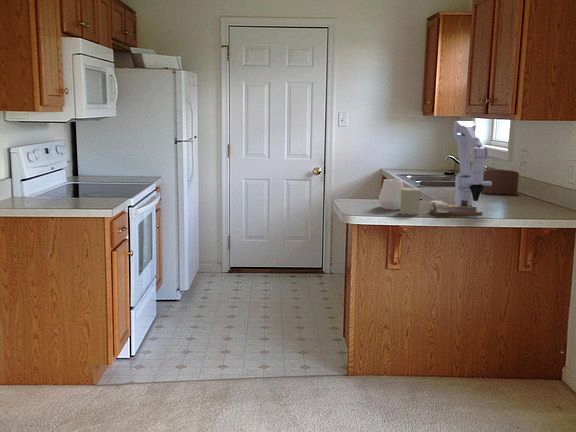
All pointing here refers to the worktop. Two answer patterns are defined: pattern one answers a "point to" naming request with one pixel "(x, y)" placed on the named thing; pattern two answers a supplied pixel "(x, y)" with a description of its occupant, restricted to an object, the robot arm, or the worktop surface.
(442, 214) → the door board
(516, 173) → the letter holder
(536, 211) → the worktop surface
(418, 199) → the beige upright block
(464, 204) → the bolt
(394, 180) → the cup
